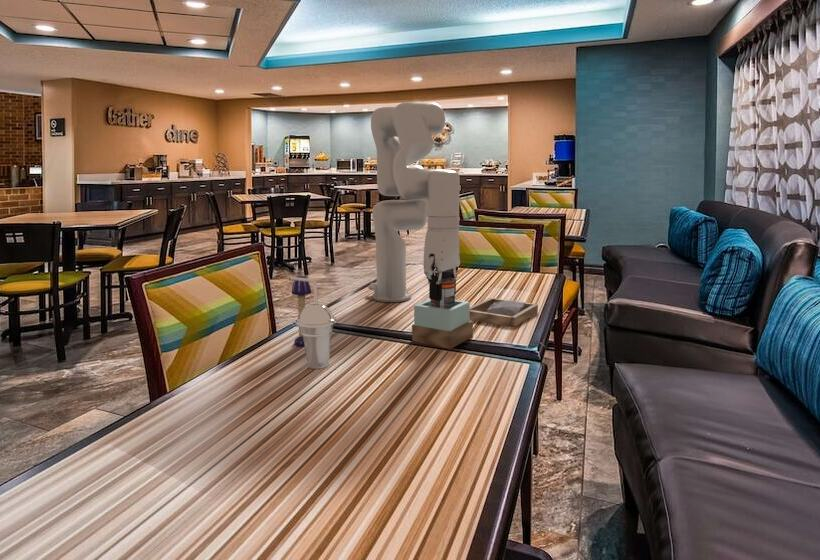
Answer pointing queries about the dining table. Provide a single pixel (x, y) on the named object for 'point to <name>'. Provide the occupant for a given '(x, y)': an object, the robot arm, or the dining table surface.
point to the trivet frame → (515, 320)
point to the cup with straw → (316, 330)
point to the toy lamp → (300, 302)
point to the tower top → (441, 315)
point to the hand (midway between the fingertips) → (442, 296)
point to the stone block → (506, 308)
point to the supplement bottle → (446, 291)
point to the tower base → (442, 335)
